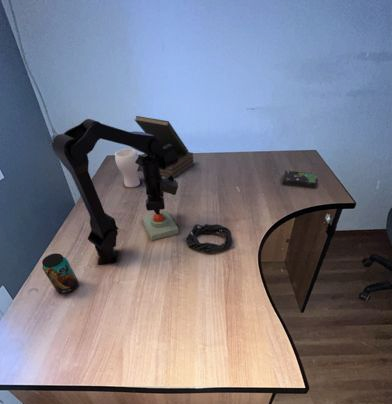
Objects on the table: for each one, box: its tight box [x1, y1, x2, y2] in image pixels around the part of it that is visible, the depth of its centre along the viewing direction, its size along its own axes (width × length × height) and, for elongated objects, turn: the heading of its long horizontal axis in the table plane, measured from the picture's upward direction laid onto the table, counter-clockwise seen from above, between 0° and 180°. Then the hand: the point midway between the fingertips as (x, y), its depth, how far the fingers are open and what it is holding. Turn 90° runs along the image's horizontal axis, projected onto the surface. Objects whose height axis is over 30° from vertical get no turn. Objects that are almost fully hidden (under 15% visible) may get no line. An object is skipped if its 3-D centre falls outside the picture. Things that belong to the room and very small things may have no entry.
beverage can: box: [41, 252, 80, 295], centre depth 81 cm, size 7×7×12 cm
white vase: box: [114, 148, 141, 188], centre depth 127 cm, size 11×11×15 cm
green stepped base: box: [141, 210, 180, 241], centre depth 105 cm, size 14×11×4 cm
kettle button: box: [153, 212, 164, 222], centre depth 103 cm, size 4×4×2 cm
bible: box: [134, 115, 194, 179], centre depth 136 cm, size 23×20×25 cm
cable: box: [185, 223, 233, 254], centre depth 97 cm, size 17×14×4 cm
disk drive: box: [281, 170, 317, 188], centre depth 128 cm, size 10×3×15 cm
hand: (158, 214), depth 102 cm, fingers closed
